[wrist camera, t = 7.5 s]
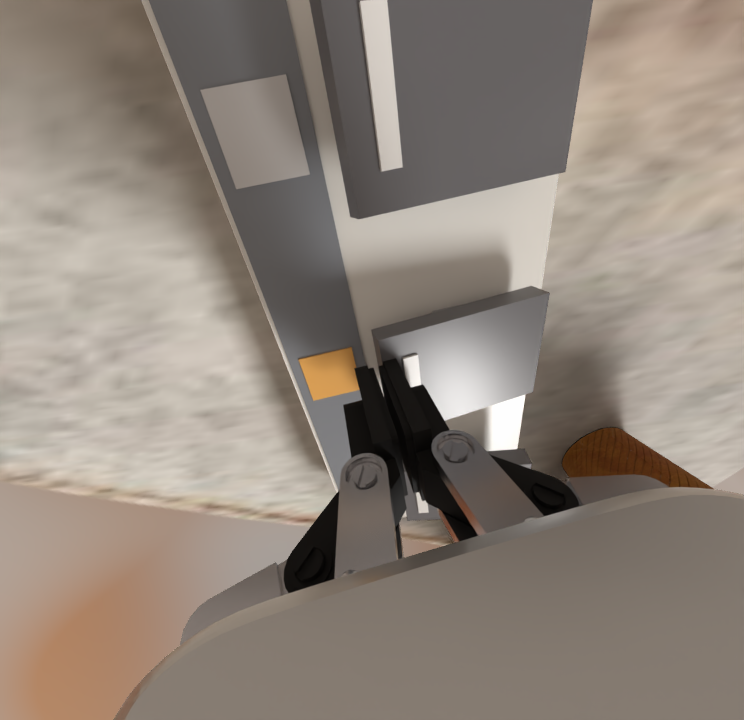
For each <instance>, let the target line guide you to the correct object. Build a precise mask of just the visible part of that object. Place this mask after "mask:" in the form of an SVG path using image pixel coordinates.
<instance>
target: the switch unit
mask: <svg viewBox="0 0 744 720" xmlns="http://www.w3.org/2000/svg"><path fill="white" fill-rule="evenodd" d="M141 1H142V4H143V6H144V9H145V11H146V14H147V16H148V19H149V21H150V24H151V27H152V29H153V32H154V34H155V37H156V39H157V42H158V44H159V47H160V49H161V52H162V54H163V57H164V59H165V62H166V64H167V67H168V69H169V72H170V74H171V77H172V79H173V82H174V84H175V87H176V89H177V92H178V95H179V97H180V100H181V102H182V105H183V107H184V110H185V112H186V115H187V117H188V120H189V122H190V125H191V127H192V130H193V132H194V135H195V137H196V140H197V142H198V145H199V147H200V150H201V152H202V155H203V157H204V160H205V163H206V165H207V168H208V170H209V173H210V175H211V178H212V180H213V183H214V185H215V188H216V190H217V193H218V195H219V198H220V200H221V203H222V205H223V208H224V210H225V213H226V215H227V218H228V220H229V223H230V225H231V228H232V231H233V233H234V236H235V238H236V241H237V243H238V246H239V248H240V251H241V253H242V256H243V258H244V261H245V263H246V266H247V268H248V271H249V273H250V276H251V278H252V281H253V283H254V286H255V288H256V291H257V293H258V296H259V299H260V301H261V304H262V306H263V309H264V311H265V314H266V316H267V319H268V321H269V324H270V326H271V329H272V331H273V334H274V336H275V339H276V341H277V344H278V346H279V349H280V351H281V354H282V356H283V359H284V361H285V364H286V367H287V369H288V372H289V374H290V377H291V379H292V382H293V384H294V387H295V389H296V392H297V394H298V397H299V399H300V402H301V404H302V407H303V409H304V412H305V414H306V417H307V419H308V422H309V424H310V427H311V429H312V432H313V435H314V437H315V440H316V442H317V445H318V447H319V450H320V452H321V455H322V457H323V460H324V462H325V465H326V467H327V470H328V472H329V475H330V477H331V480H332V482H333V485H334V487H335V490H336V492H338V491H339V488H340V475H341V470H342V468H343V466H344V465H345V463H346V462H347V461H348V460H349V459H351V452H350V445H349V439H348V433H347V427H346V420H345V414H344V407H343V405H344V404H348V403H352V402H356V401H360V400H362V398H361V394H360V390H359V386H358V382H357V378H356V373H355V369H354V368H358V367H362V366H366V365H367V366H368V369H369V368H374V371H375V373H376V376H377V379H378V382H379V385H380V387H381V390H382V393H383V389H382V384H381V379H380V373H379V368H378V363H377V357H376V352H375V347H374V342H373V336H372V331H371V329H375V328H379V327H382V326H386V325H390V324H393V323H397V322H400V321H404V320H408V319H411V318H415V317H419V316H422V315H426V314H430V313H433V312H437V311H441V310H444V309H448V308H452V307H455V306H459V305H463V304H466V303H470V302H474V301H477V300H481V299H485V298H488V297H492V296H496V295H499V294H503V293H507V292H510V291H514V290H518V289H521V288H525V287H529V286H533V287H536V288H539V289H542V282H543V276H544V269H545V262H546V256H547V249H548V243H549V236H550V229H551V223H552V216H553V210H554V203H555V196H556V190H557V183H558V177H559V174H554V175H550V176H546V177H541V178H537V179H533V180H528V181H524V182H519V183H515V184H511V185H506V186H502V187H498V188H493V189H489V190H485V191H480V192H476V193H472V194H467V195H463V196H459V197H454V198H450V199H446V200H441V201H437V202H433V203H428V204H424V205H420V206H415V207H411V208H407V209H402V210H398V211H394V212H389V213H385V214H381V215H376V216H372V217H368V218H363V219H356V218H352V217H350V213H349V208H348V203H347V197H346V192H345V187H344V182H343V176H342V171H341V166H340V160H339V155H338V150H337V145H336V139H335V134H334V129H333V124H332V118H331V113H330V108H329V102H328V97H327V92H326V87H325V81H324V76H323V71H322V65H321V60H320V55H319V50H318V44H317V39H316V34H315V29H314V23H313V18H312V13H311V7H310V2H309V0H141ZM525 395H526V394H525ZM525 395H522V396H519V397H516V398H513V399H510V400H507V401H504V402H501V403H498V404H494V405H491V406H488V407H485V408H482V409H479V410H476V411H473V412H470V413H467V414H464V415H461V416H458V417H455V418H452V419H448V420H445V422H446V424H447V426H448V428H449V429H450V430H459V431H464V432H466V433H468V434H470V435H471V436H473V437H474V438H475V439H476V440H477V441H478V442H479V443H480V445H481V446H482V447H483V448H484V449H485V450H486V451H498V450H512V449H517V447H518V441H519V434H520V428H521V421H522V414H523V408H524V401H525ZM383 396H384V394H383ZM403 517H407V515H406V511H405V513H404V514H403V516H402V518H403Z"/></svg>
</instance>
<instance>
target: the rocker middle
mask: <svg viewBox="0 0 744 720" xmlns="http://www.w3.org/2000/svg"><path fill="white" fill-rule="evenodd" d="M549 294H550V293H549V292H546V291H544V290H541V289H539V288H536V287H533V286H529V287H525V288H521V289H518V290H514V291H510V292H507V293H503V294H499V295H496V296H492V297H488V298H485V299H481V300H477V301H474V302H470V303H466V304H463V305H459V306H455V307H452V308H448V309H444V310H441V311H437V312H433V313H430V314H426V315H422V316H419V317H415V318H411V319H408V320H404V321H400V322H397V323H393V324H390V325H386V326H382V327H379V328H375V329H371V331H372V336H373V342H374V347H375V352H376V357H377V363H378V366H381V365H384V364H383V361H387V360H391V359H395V358H396V359H397V361H398V363H399V365H400V367H401V369H402V371H403V373H404V375H405V377H406V379H407V381H408V383H409V385H410V387H414V386H418V385H422V384H423V385H424V386H425V388H426V389H427V391H428V393H429V395H430V396H431V398H432V400H433V402H434V403H435V405H436V407H437V409H438V410H439V412H440V414H441V415H442V417H443V419H444V421H445V420H448V419H452V418H455V417H458V416H461V415H464V414H467V413H470V412H473V411H476V410H479V409H482V408H485V407H488V406H491V405H494V404H498V403H501V402H504V401H507V400H510V399H513V398H516V397H519V396H522V395H525V394H528V393H531V392H533V389H534V383H535V377H536V371H537V365H538V359H539V353H540V347H541V341H542V335H543V330H544V324H545V318H546V312H547V306H548V300H549Z"/></svg>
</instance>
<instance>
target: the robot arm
mask: <svg viewBox="0 0 744 720" xmlns="http://www.w3.org/2000/svg"><path fill="white" fill-rule="evenodd" d="M383 364H384V365H381V366H378V368H379V373H380V379H381V384H382V389H383V393H382V390H381V387H380V385H379V382H378V379H377V376H376V373H375V371H374V368H369V369H368V366H367V365H366V366H362V367H358V368H354V369H355V373H356V378H357V382H358V386H359V390H360V394H361V398H362V400H360V401H356V402H352V403H348V404H344V405H343V407H344V414H345V420H346V427H347V433H348V439H349V445H350V452H351V459H349V460H348V461H347V462H346V463H345V465H344V466H343V468H342V470H341V475H340V488H339V491H338V492H337V494H336V495H335V496H334V498H333V499H332V500H331V501H330V503H329V504H328V505H327V507H326V508H325V509H324V511H323V512H322V513H321V514H320V516H319V517H318V518H317V520H316V521H315V522H314V524H313V525H312V526H311V527H310V529H309V530H308V531H307V533H306V534H305V536H304V537H303V538H302V539H301V541H300V542H299V543H298V544H297V546H296V547H295V549H294V550H293V551H292V553H291V554H290V556H289V558H288V559H287V560H286V561H284V562H283V563H281V564H279V565H277V563H274V564H272V565H270V566H268V567H266V568H265V569H263V570H261V571H259V572H257V573H255V574H253V575H252V576H250V577H248V578H246V579H244V580H243V581H241V582H239V583H237V584H235V585H234V586H232V587H230V588H228V589H227V590H225V591H223V592H221V593H219V594H217V595H216V596H214V597H212V598H210V599H209V600H207V601H206V602H205V603H203V604H202V605H200V606H199V607H198V608H197V610H196V611H195V612H194V613H193V615H192V616H191V617H190V618H189V620H188V623H187V624H186V626H185V628H184V630H183V634H182V639H181V643H180V646H179V647H177V648H176V649H175V650H174V651H173V652H171V653H170V654H169V655H168V656H166V657H165V658H164V659H163V660H162V661H161V662H160V663H159V664H158V665H156V666H155V667H154V668H153V669H152V670H151V671H150V672H149V673H148V674H147V675H146V676H145V677H144V678H143V679H142V680H141V682H140V683H139V684H138V685H137V686H136V687H135V688H134V690H133V691H132V692H131V693H130V695H129V696H128V697H127V699H126V700H125V702H124V704H123V705H122V707H121V708H120V710H119V711H118V713H117V715H116V716H115V718H114V720H744V495H743V494H738V493H733V492H728V491H722V490H715V489H705V488H690V487H670V488H669V487H668V486H667V485H665V484H664V483H662V482H660V481H658V480H657V479H654V478H651V477H648V476H645V475H635V474H633V475H612V476H591V477H570V478H568V479H567V481H560V480H558V479H556V478H554V477H552V476H549V475H546V474H543V473H541V472H538V471H535V470H532V469H529V468H526V467H524V466H521V465H518V464H515V463H512V462H510V461H507V460H504V459H501V458H498V457H495V456H493V455H490V454H488V452H487V451H486V450H485V449H484V448H483V447H482V446H481V445H480V443H479V442H478V441H477V440H476V439H475V438H474V437H473V436H471V435H470V434H468V433H466V432H464V431H459V430H450V429H449V428H448V426H447V424H446V422H445V421H444V419H443V417H442V415H441V414H440V412H439V410H438V409H437V407H436V405H435V403H434V402H433V400H432V398H431V396H430V395H429V393H428V391H427V389H426V388H425V386H424V385H423V384H422V385H418V386H414V387H410V385H409V383H408V381H407V379H406V377H405V375H404V373H403V371H402V369H401V367H400V365H399V363H398V361H397V359H396V358H395V359H391V360H387V361H383ZM383 394H384V396H383ZM402 461H403V462H402ZM403 464H404V467H405V470H406V473H407V476H408V478H409V481H410V484H411V487H412V490H413V493H417V492H419V493H420V496H421V499H422V501H425V500H426V503H428V504H430V505H432V506H434V507H436V508H437V511H438V513H439V516H440V517H441V519H442V521H443V523H444V524H445V526H446V528H447V530H448V532H449V533H450V535H451V537H452V539H453V540H454V542H455V543H453V544H449V545H446V546H443V547H439V548H436V549H432V550H429V551H426V552H422V553H419V554H416V555H412V556H409V557H406V558H404V554H403V546H402V538H401V529H400V523H399V522H400V520H401V518H402V516H403V514H404V513H405V511H406V509H407V507H406V502H405V497H404V496H407V495H408V491H407V485H406V479H405V474H404V468H403Z"/></svg>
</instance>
